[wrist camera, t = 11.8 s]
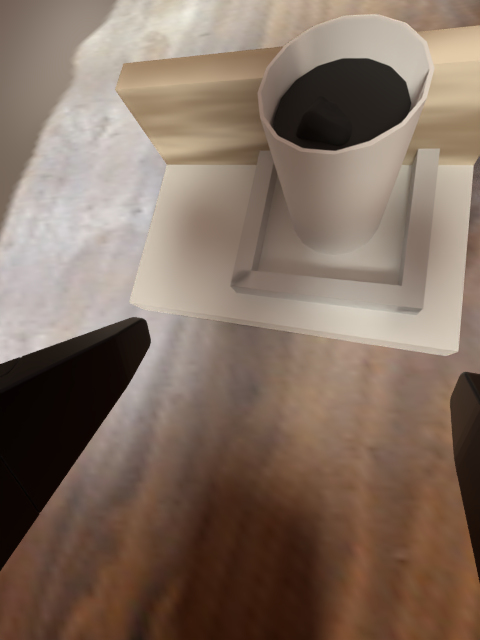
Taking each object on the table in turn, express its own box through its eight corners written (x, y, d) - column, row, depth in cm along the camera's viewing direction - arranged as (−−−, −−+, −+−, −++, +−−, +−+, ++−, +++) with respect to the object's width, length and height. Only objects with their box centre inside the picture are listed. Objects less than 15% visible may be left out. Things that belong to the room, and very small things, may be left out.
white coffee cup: (361, 276, 21) (386, 175, 12) (270, 240, 23) (229, 131, 14) (406, 188, 21) (465, 24, 12) (313, 161, 24) (302, 5, 14)
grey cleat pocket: (446, 356, 20) (468, 347, 17) (143, 309, 27) (117, 296, 24) (461, 184, 23) (484, 147, 19) (177, 179, 29) (158, 151, 26)
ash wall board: (461, 184, 23) (539, 55, 14) (177, 179, 29) (115, 89, 21) (464, 159, 23) (541, 19, 15) (182, 160, 29) (123, 63, 21)
